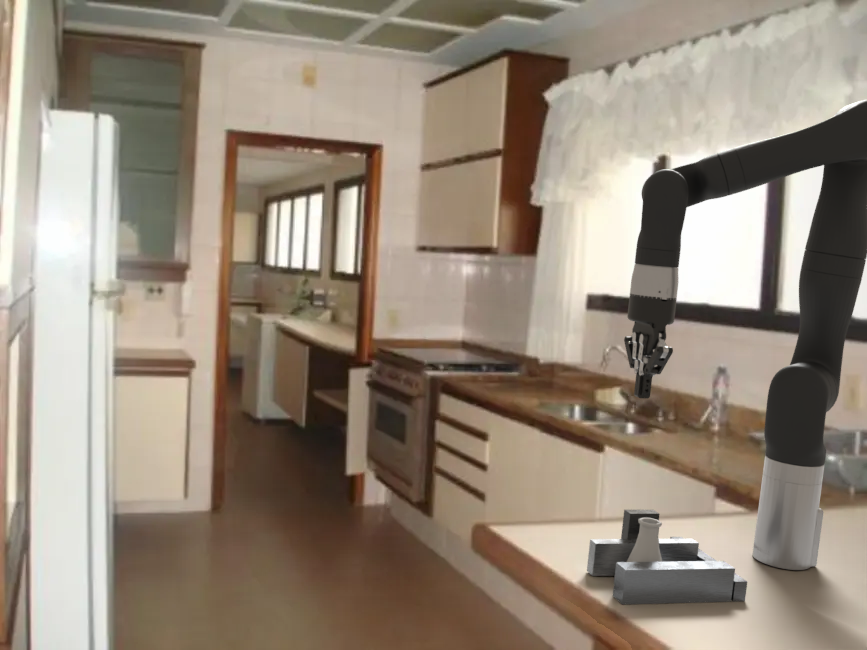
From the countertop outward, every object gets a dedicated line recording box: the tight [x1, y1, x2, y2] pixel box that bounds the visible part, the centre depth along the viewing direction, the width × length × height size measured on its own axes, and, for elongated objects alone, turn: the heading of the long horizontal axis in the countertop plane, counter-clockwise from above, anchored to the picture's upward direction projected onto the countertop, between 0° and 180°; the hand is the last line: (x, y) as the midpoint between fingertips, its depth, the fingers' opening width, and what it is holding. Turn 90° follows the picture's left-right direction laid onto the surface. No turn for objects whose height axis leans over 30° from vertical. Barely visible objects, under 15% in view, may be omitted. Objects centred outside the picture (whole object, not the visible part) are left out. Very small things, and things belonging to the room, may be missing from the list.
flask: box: [627, 518, 663, 562], centre depth 141 cm, size 7×7×10 cm
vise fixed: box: [612, 536, 748, 605], centre depth 145 cm, size 20×19×5 cm
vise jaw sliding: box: [586, 509, 700, 577], centre depth 147 cm, size 17×4×9 cm, turn 105°
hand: (641, 397), depth 158 cm, fingers closed
